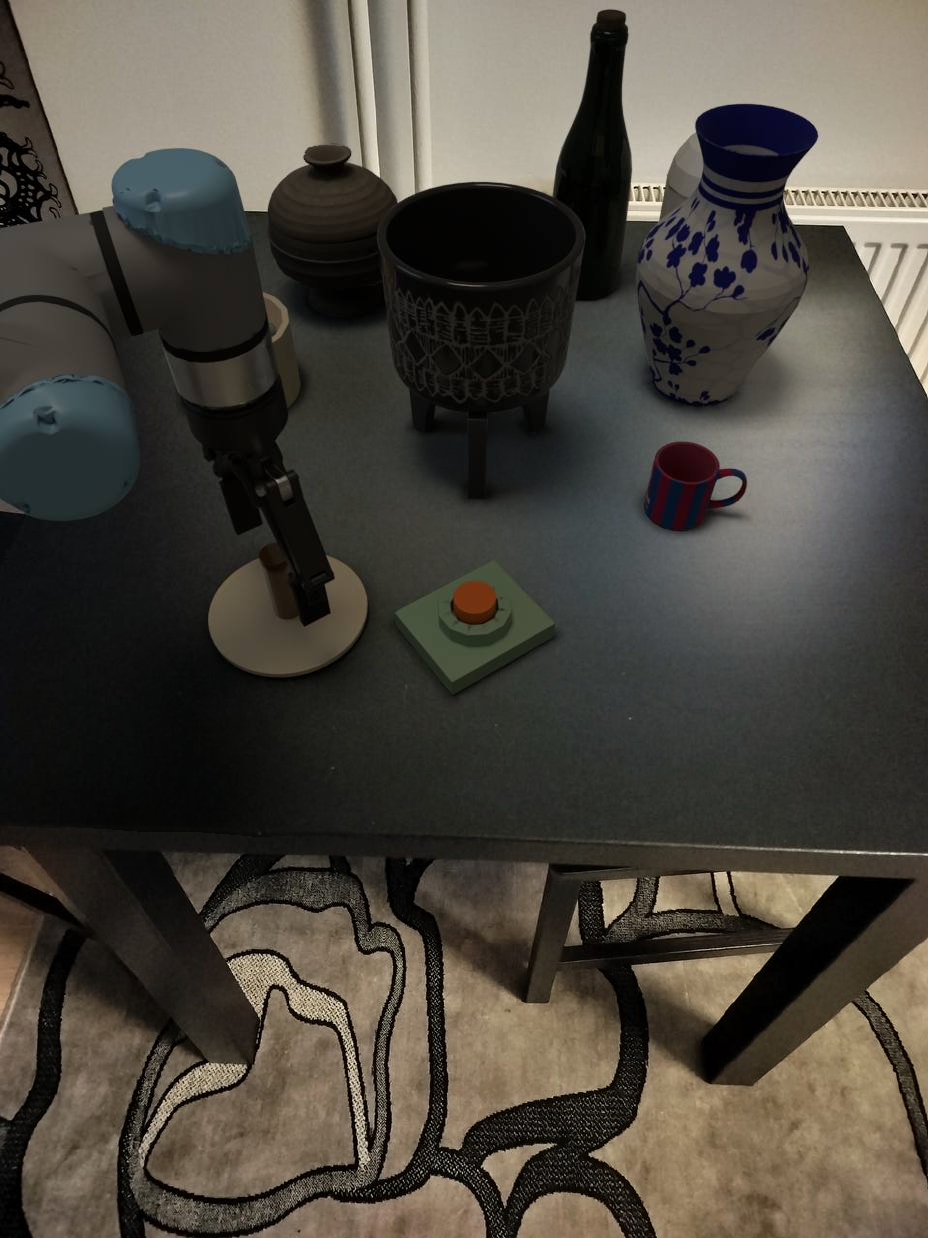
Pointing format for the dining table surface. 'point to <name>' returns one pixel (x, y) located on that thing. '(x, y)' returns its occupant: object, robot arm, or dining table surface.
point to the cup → (686, 485)
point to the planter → (480, 302)
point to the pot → (330, 230)
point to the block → (474, 629)
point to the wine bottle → (599, 158)
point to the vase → (725, 257)
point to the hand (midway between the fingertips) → (280, 570)
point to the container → (683, 175)
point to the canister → (283, 347)
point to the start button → (474, 602)
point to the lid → (283, 618)
